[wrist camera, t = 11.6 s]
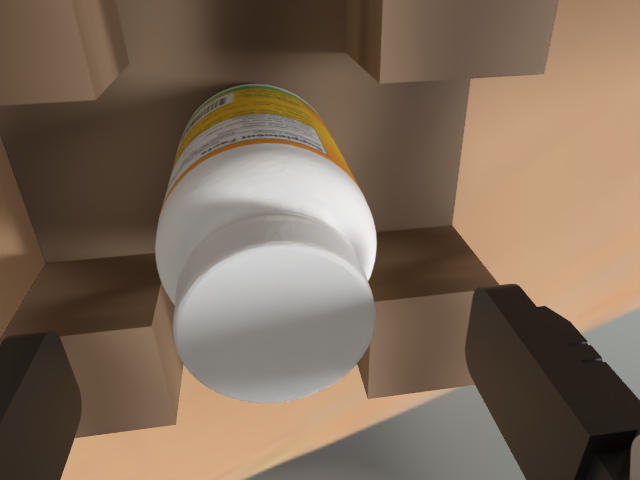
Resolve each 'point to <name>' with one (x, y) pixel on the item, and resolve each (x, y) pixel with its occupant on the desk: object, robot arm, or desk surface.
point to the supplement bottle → (265, 249)
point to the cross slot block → (163, 141)
